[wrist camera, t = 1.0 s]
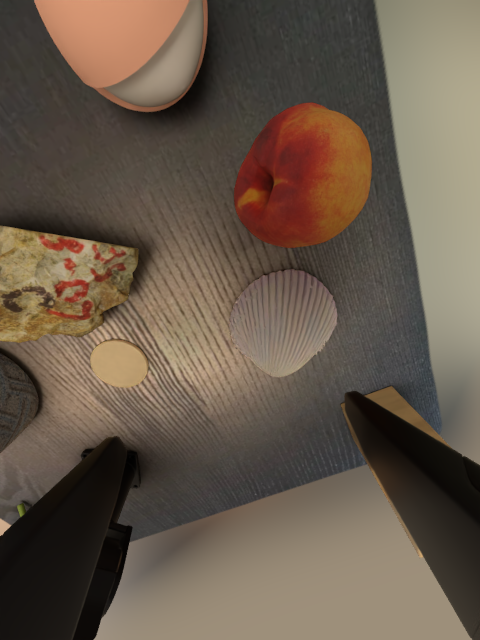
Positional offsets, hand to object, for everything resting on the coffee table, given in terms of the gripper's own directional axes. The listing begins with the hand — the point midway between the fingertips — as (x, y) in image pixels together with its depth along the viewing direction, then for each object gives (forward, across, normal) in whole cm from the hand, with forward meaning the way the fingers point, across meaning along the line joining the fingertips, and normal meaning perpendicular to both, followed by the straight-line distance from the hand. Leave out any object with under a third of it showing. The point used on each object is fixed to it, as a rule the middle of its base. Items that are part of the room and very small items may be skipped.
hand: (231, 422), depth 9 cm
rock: (+14, +12, -5) cm, 19 cm away
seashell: (+14, -4, +3) cm, 15 cm away
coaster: (+14, +12, +4) cm, 19 cm away
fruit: (+14, -6, -8) cm, 18 cm away
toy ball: (+14, +1, -17) cm, 22 cm away
